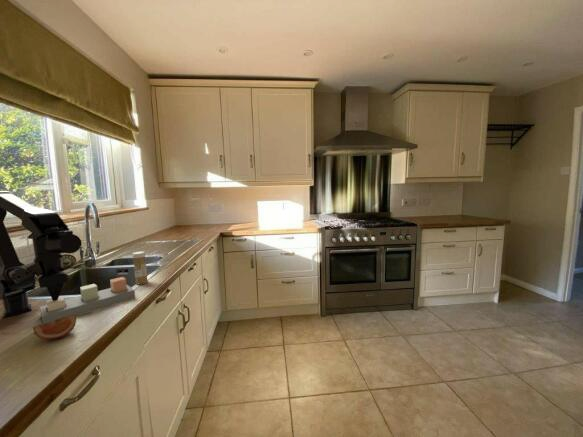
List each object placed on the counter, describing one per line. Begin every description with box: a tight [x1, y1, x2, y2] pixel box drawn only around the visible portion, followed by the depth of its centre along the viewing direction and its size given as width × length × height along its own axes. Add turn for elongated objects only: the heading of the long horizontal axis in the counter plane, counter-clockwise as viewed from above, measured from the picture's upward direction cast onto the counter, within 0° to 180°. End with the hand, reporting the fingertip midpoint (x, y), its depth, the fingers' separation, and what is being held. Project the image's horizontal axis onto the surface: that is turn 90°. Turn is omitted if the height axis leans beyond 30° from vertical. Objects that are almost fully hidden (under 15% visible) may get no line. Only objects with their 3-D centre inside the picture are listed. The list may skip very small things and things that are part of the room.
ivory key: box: [45, 296, 66, 312], centre depth 79 cm, size 4×4×5 cm
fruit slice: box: [32, 314, 77, 340], centre depth 67 cm, size 8×7×5 cm
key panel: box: [39, 284, 136, 324], centre depth 86 cm, size 10×24×3 cm, turn 138°
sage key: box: [79, 283, 99, 302], centre depth 85 cm, size 4×4×5 cm
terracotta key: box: [109, 276, 128, 293], centre depth 91 cm, size 4×4×5 cm
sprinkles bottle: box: [132, 251, 148, 285], centre depth 106 cm, size 5×5×14 cm
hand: (55, 300), depth 79 cm, fingers closed, pressing on ivory key
